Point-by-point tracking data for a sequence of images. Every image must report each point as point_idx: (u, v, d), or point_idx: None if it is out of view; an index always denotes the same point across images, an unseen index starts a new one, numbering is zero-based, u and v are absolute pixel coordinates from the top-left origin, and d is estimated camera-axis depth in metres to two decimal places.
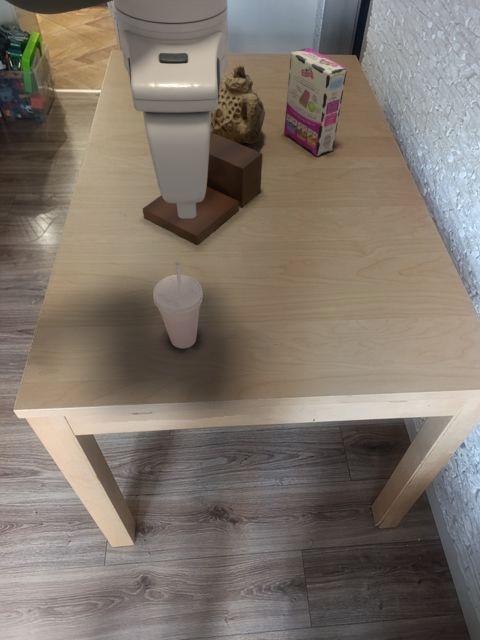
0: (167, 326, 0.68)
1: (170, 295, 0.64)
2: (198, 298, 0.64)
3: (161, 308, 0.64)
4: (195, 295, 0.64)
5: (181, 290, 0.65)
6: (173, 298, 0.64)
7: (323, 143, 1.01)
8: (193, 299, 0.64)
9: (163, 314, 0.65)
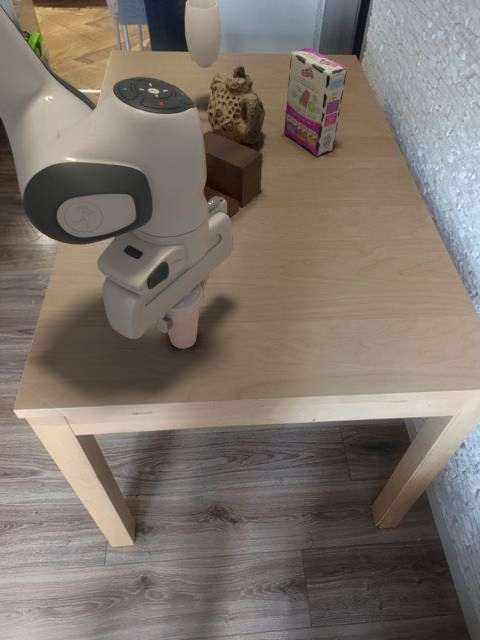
0: None
1: None
2: (198, 298, 0.64)
3: None
4: (195, 295, 0.64)
5: None
6: None
7: (323, 143, 1.01)
8: (193, 299, 0.64)
9: None
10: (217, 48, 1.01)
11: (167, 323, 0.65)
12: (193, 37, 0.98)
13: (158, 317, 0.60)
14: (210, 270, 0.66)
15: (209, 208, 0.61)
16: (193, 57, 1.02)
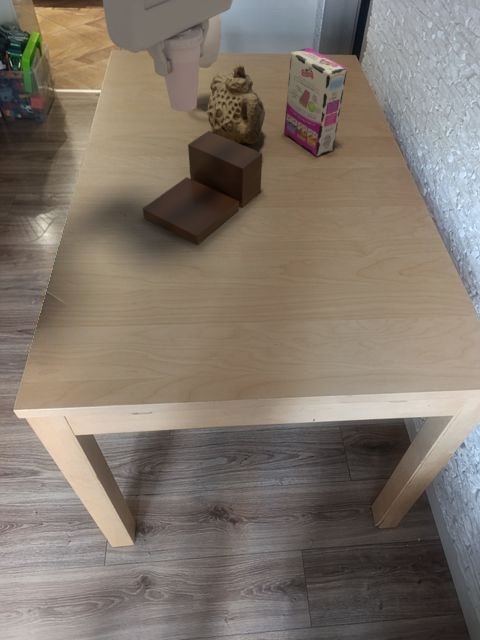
0: (167, 76, 0.67)
1: None
2: (198, 35, 0.64)
3: None
4: (195, 33, 0.64)
5: None
6: None
7: (323, 143, 1.01)
8: (193, 36, 0.64)
9: None
10: (217, 48, 1.01)
11: (167, 62, 0.64)
12: None
13: (157, 37, 0.60)
14: (210, 13, 0.65)
15: None
16: None
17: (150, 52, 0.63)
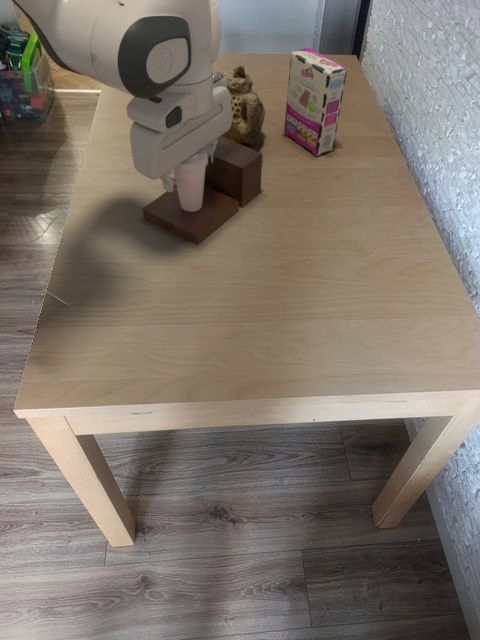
0: (179, 187, 0.83)
1: None
2: (204, 159, 0.80)
3: None
4: (202, 157, 0.80)
5: None
6: None
7: (323, 143, 1.01)
8: (200, 160, 0.80)
9: (176, 174, 0.81)
10: (217, 48, 1.01)
11: (173, 182, 0.79)
12: None
13: (172, 165, 0.76)
14: (213, 137, 0.81)
15: (213, 79, 0.76)
16: None
17: None
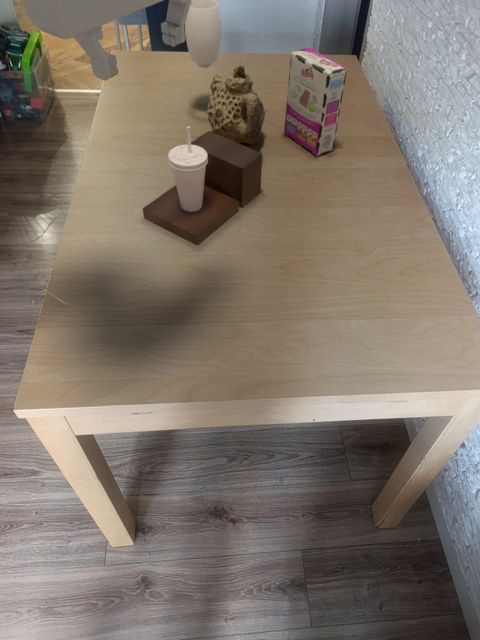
0: (179, 187, 0.83)
1: (182, 156, 0.80)
2: (204, 159, 0.80)
3: (174, 166, 0.79)
4: (202, 157, 0.80)
5: (190, 153, 0.80)
6: (184, 158, 0.80)
7: (323, 143, 1.01)
8: (200, 160, 0.80)
9: (176, 174, 0.81)
10: (217, 48, 1.01)
11: (109, 59, 0.44)
12: (193, 37, 0.98)
13: (102, 16, 0.40)
14: None
15: None
16: (193, 57, 1.02)
17: (82, 45, 0.43)
